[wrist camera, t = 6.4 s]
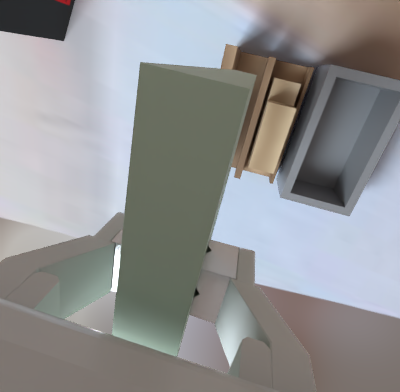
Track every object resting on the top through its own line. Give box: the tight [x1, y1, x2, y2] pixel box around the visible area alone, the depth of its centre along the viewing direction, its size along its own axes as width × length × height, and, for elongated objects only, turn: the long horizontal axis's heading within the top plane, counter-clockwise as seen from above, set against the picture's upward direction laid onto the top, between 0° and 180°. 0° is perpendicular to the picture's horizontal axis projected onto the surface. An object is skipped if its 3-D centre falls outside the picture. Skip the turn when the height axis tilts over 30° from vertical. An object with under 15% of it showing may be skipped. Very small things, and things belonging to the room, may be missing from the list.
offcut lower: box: [248, 77, 301, 164], centre depth 36 cm, size 3×11×3 cm, turn 168°
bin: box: [277, 64, 400, 216], centre depth 35 cm, size 9×16×7 cm, turn 168°
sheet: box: [112, 62, 257, 357], centre depth 14 cm, size 2×11×18 cm, turn 168°
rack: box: [221, 44, 314, 184], centre depth 35 cm, size 10×15×10 cm, turn 168°
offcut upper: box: [248, 100, 296, 174], centre depth 34 cm, size 3×8×3 cm, turn 168°
